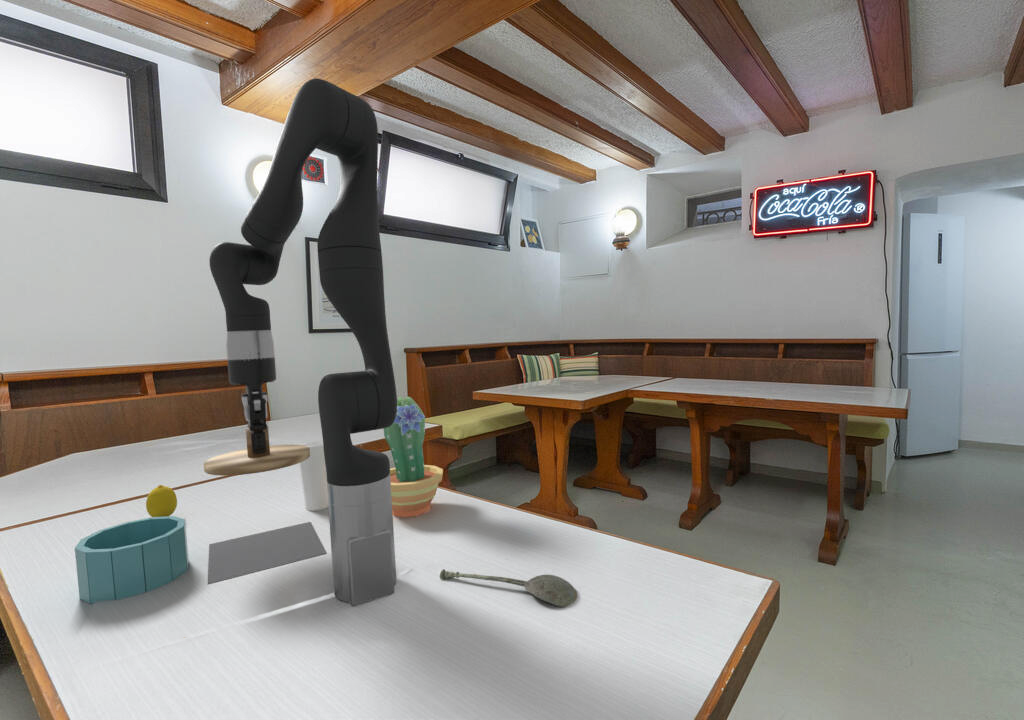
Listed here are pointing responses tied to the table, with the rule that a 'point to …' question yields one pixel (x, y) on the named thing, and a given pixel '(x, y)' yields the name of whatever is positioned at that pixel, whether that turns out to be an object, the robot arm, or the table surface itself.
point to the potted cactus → (410, 462)
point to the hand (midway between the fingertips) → (258, 450)
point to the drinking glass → (314, 477)
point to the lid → (256, 459)
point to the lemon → (161, 502)
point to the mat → (262, 551)
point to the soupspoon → (532, 586)
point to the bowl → (131, 558)
